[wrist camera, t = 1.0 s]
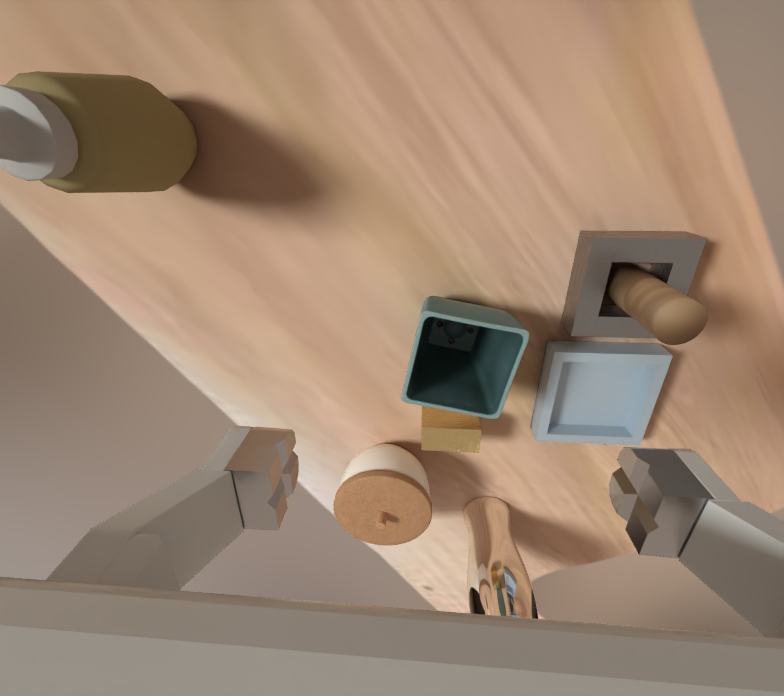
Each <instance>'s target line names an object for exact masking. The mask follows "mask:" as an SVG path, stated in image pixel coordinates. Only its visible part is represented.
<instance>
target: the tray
mask: <svg viewBox="0 0 784 696" xmlns="http://www.w3.org/2000/svg"><path fill="white" fill-rule="evenodd" d="M672 357H673V355H672V354H671V353H669V352H668V351H667V350H666V349H665V348H664V347H662V346H661V345H660V344H652V343H614V342H577V341H547V345H546V350H545V355H544V360H543V365H542V370H541V375H540V380H539V385H538V391H537V396H536V401H535V406H534V411H533V416H532V421H531V426H530V427H531V429H532V432H533V435H534V437H535V440H536V441H548V442H572V443H596V444H619V445H641V442H642V439H643V436H644V434H645V431H646V428H647V425H648V423H649V420H650V417H651V414H652V412H653V409H654V406H655V404H656V401H657V398H658V395H659V393H660V390H661V387H662V384H663V382H664V379H665V376H666V373H667V371H668V368H669V365H670V362H671V360H672Z"/></svg>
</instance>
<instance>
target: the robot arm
mask: <svg viewBox="0 0 784 696" xmlns="http://www.w3.org/2000/svg"><path fill="white" fill-rule="evenodd" d="M295 444H296V440H295V433H294V431H293V430H291V429H278V428H264V427H247V426H235V427H232V428H231V429H230V430H229V432H228V433H227V435H226V436H225V438H224V439H223V440H222V442H221V443H220V445H219V446H218V447H217V449H216V450H215V452H214V453H213V454H212V456H211V457H210V459H209V460H208V462H207V463H206V464H205V466H204V467H203V469H196V470H194V471H192V472H190V473H189V474H187V475H185V476H183V477H181V478H180V479H178V480H176V481H174V482H172V483H171V484H169V485H167V486H165V487H164V488H162V489H160V490H158V491H157V492H155V493H153V494H151V495H149V496H148V497H146V498H144V499H142V500H141V501H139V502H137V503H135V504H134V505H132V506H130V507H128V508H126V509H125V510H123V511H121V512H119V513H118V514H116V515H114V516H112V517H111V518H109V519H107V520H105V521H103V522H102V523H100V524H98V525H96V526H95V527H93V528H91V529H90V530H89V532H88V533H87V534H86V535H85V536H84V537H83V538H82V540H81V541H80V542H79V543H78V544H77V545H76V546H75V548H74V549H73V550H72V551H71V552H70V553H69V554H68V555H67V556H66V558H65V559H64V560H63V561H62V562H61V563H60V564H59V566H58V567H57V568H56V569H55V570H54V571H53V572H52V573H51V575H50V576H49V577H48V578H47V579H46V580H35V579H22V578H10V577H0V696H784V521H783V520H781V519H779V518H777V517H775V516H773V515H772V514H770V513H768V512H766V511H765V510H763V509H761V508H759V507H757V506H756V505H754V504H752V503H750V502H744V501H741V500H740V499H739V498H738V497H737V496H736V495H735V494H734V493H733V491H732V490H731V489H730V488H729V487H728V486H727V485H726V484H725V483H724V482H723V481H722V479H721V478H720V477H719V476H718V475H717V474H716V473H715V472H714V471H713V470H712V468H711V467H710V466H709V465H708V464H707V463H706V462H705V461H704V460H703V459H702V458H701V456H700V455H699V454H698V453H697V452H695V451H693V450H691V449H669V448H668V449H656V448H634V447H624V448H623V449H622V450H621V451H620V453H619V456H618V459H617V461H618V462H619V464H620V466H621V468H619V469H618V470H617V471H615V472H614V473H613V474H612V477H611V480H610V484H609V488H610V498H611V502H612V505H613V507H614V509H615V511H616V513H617V514H618V515H620V516H621V517H622V518H624V519H625V520H626V521H628V523H627V526H626V529H625V530H626V531H627V533H628V535H629V537H630V539H631V541H632V542H633V544H634V546H635V548H636V550H637V552H638V554H639V555H648V556H659V557H669V558H679V561H680V562H681V563H682V564H683V565H684V566H686V567H687V568H688V569H689V570H690V571H691V572H692V573H693V574H695V575H696V576H697V577H698V578H699V579H700V580H701V581H703V582H704V583H705V584H706V585H707V586H708V587H709V588H710V589H712V590H713V591H714V592H715V593H716V594H717V595H718V596H719V597H721V598H722V599H723V600H724V601H725V602H726V603H727V604H729V605H730V606H731V607H732V608H733V609H734V610H735V611H737V612H738V613H739V614H740V615H741V616H742V617H743V618H744V619H745V620H747V621H748V622H749V623H750V624H751V625H752V626H754V627H755V628H756V629H757V630H758V631H759V632H760V633H761V634H763V635H764V636H765V637H762V636H749V635H736V634H724V633H711V632H699V631H686V630H673V629H661V628H648V627H634V626H621V625H608V624H596V623H583V622H570V621H558V620H545V619H532V618H520V617H507V616H494V615H482V614H469V613H456V612H444V611H431V610H418V609H405V608H393V607H380V606H367V605H355V604H341V603H329V602H316V601H303V600H291V599H278V598H265V597H252V596H240V595H227V594H214V593H202V592H189V591H180V589H181V588H182V587H183V586H184V585H185V584H186V583H187V582H188V581H189V580H190V579H192V578H193V577H194V576H195V575H196V574H197V573H198V572H199V571H200V570H201V569H203V568H204V567H205V566H206V565H207V564H208V563H209V562H210V561H211V560H212V559H213V558H215V556H217V555H218V554H219V553H220V552H221V551H222V550H223V549H225V548H226V547H227V546H228V545H229V544H230V543H231V542H232V541H233V540H234V539H235V538H236V537H238V536H239V535H240V534H241V533H242V532H243V531H244V529H261V530H279V528H280V526H281V523H282V520H283V518H284V515H285V513H286V510H287V500H286V498H287V497H289V496H290V495H291V494H293V492H294V489H295V486H296V483H297V478H298V467H299V463H298V456H297V455H296V454H295V453H294V452H293V448H294V446H295Z"/></svg>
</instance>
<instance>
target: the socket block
mask: <svg viewBox="0 0 784 696" xmlns="http://www.w3.org/2000/svg"><path fill="white" fill-rule="evenodd" d="M706 241H707V239H706V238H703V237H700V236H697V235H694V234H691V233H688V232H670V231H580V235H579V239H578V244H577V249H576V254H575V259H574V263H573V268H572V273H571V278H570V283H569V287H568V292H567V297H566V302H565V306H564V311H563V316H562V321H561V324H562V325H563V326H564V328H565V329H566V330H567V331H568V333H569V334H570V335H571V336H590V337H629V338H656V337H655V336H653V335H652V334H651V333H650V332H649V331H647V330H646V329H645V328H644V327H643V326H642V325H640V324H639V323H638V322H637V321H636V320H634V319H633V318H632V317H631V316H630V315H628V314H627V313H626V312H625V311H624V310H622V309H621V308H620V307H619V306H618V305H601V303H602V299H603V295H604V292H605V288H606V284H607V280H608V276H609V272H610V268H611V264H612V262H643V263H652V266H651V269H650V272H649V274H651V275H652V276H654V277H656V278H658V279H659V280H661V281H663V282H664V283H666V284H668V285H670V286H671V287H673V288H675V289H677V290H678V291H680V292H682V293H683V294H685V295H687V294H688V291H689V289H690V286H691V283H692V280H693V277H694V275H695V272H696V269H697V266H698V263H699V261H700V258H701V255H702V252H703V249H704V246H705V244H706Z"/></svg>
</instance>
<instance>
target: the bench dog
mask: <svg viewBox="0 0 784 696" xmlns="http://www.w3.org/2000/svg"><path fill="white" fill-rule="evenodd" d="M481 432H482V429H481V424H480V419H479V417H478V416H473V415H468V414H464V413H458V412H454V411H448V410H443V409H437V408H432V407H427V406H422V425H421V450H429V451H451V452H474V453H479V447H480V440H481Z"/></svg>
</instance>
